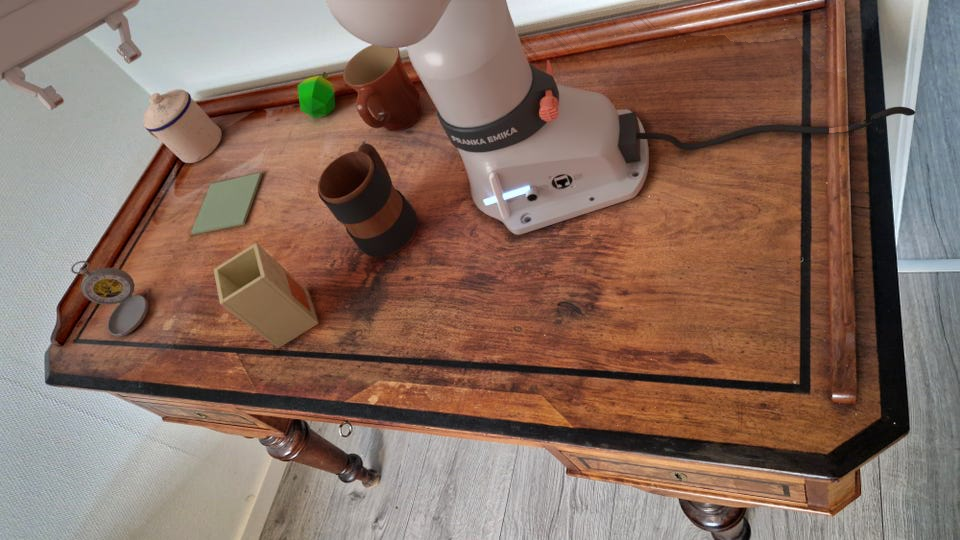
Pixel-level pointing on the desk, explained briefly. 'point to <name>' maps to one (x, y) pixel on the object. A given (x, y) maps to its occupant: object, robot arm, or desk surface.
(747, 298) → the desk surface
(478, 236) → the desk surface
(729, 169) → the desk surface
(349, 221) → the mug
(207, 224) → the mat
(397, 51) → the mug
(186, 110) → the teacup with lid
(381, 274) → the desk surface
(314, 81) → the apple
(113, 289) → the pocket watch
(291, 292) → the bin
